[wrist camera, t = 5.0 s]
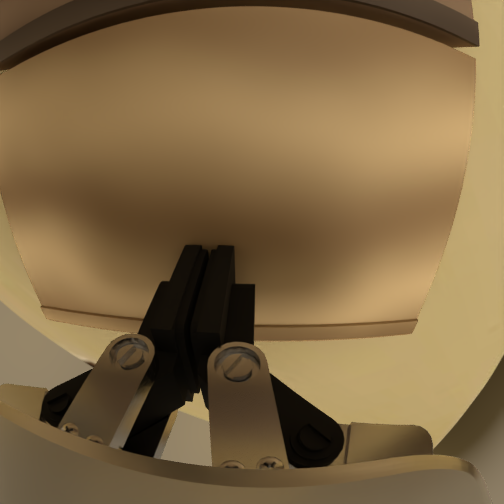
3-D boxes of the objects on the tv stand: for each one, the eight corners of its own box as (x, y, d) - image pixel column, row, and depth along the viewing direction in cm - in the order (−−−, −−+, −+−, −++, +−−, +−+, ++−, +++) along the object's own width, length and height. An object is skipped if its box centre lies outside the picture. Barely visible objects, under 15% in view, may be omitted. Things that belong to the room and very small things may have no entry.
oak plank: (10, 79, 7) (-15, 83, 5) (452, 59, 7) (478, 59, 5) (61, 301, 13) (47, 321, 12) (399, 313, 13) (410, 336, 11)
